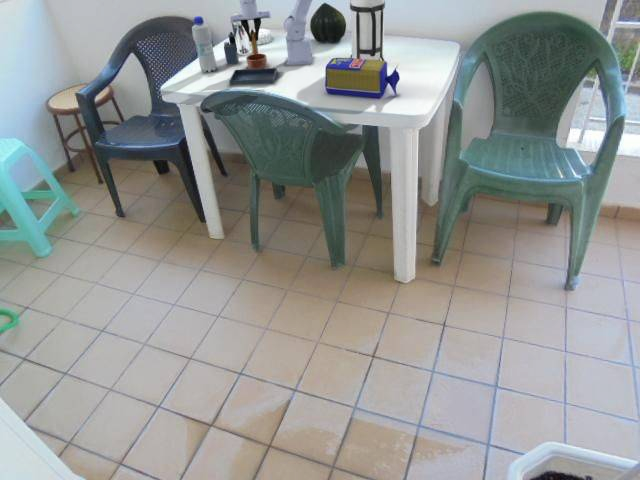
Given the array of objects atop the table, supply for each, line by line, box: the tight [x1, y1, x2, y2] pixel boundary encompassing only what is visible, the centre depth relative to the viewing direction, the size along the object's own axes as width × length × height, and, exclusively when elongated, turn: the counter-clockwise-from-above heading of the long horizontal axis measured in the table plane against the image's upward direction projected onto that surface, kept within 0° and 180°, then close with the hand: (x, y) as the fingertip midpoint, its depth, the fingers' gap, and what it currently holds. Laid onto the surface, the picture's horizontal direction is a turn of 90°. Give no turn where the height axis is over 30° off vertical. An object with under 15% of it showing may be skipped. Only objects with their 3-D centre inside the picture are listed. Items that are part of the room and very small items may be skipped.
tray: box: [229, 67, 278, 86], centre depth 179 cm, size 16×10×2 cm, turn 86°
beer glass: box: [230, 12, 253, 56], centre depth 197 cm, size 7×7×15 cm
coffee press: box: [349, 0, 386, 61], centre depth 176 cm, size 17×16×30 cm
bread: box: [324, 57, 401, 99], centre depth 162 cm, size 10×25×10 cm, turn 70°
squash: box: [309, 2, 347, 43], centre depth 204 cm, size 14×15×15 cm
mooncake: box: [250, 28, 272, 46], centre depth 212 cm, size 12×12×4 cm
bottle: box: [191, 15, 218, 73], centre depth 183 cm, size 7×7×20 cm
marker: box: [250, 29, 259, 54], centre depth 182 cm, size 2×2×8 cm
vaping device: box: [223, 31, 240, 65], centre depth 189 cm, size 3×5×12 cm, turn 78°
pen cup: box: [246, 52, 269, 69], centre depth 187 cm, size 8×8×4 cm
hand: (253, 40), depth 182 cm, fingers closed on marker, 2 cm apart
